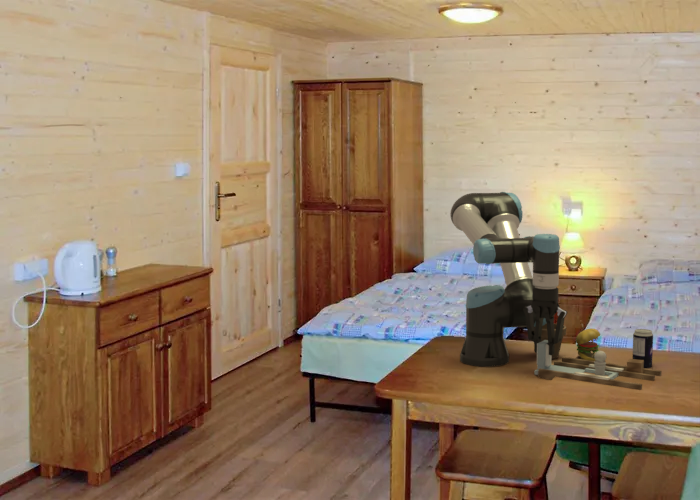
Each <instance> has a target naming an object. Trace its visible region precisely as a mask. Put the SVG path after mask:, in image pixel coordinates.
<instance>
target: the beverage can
mask: <svg viewBox="0 0 700 500" xmlns="http://www.w3.org/2000/svg"><path fill="white" fill-rule="evenodd" d="M632 336H633V337H632V358H631V359H637V360H644V368H646V369H652V368H653V352H654V349H653V348H654V347H653V346H654V345H653V344H654V334H653V331H652V330H651V329H646V328H636V329H634V332H633V335H632Z"/></svg>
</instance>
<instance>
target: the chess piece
mask: <svg viewBox="0 0 700 500" xmlns="http://www.w3.org/2000/svg"><path fill="white" fill-rule="evenodd" d="M594 357H595V360H596V361H594V363H595V364H594V366H595V374H594V375H600V376H606V375H605V367H606V365H605V364H606V363H607V362H606V360H607V354H606V352H605V351H603V350H599V351H597V352H595V355H594Z"/></svg>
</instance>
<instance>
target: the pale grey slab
mask: <svg viewBox="0 0 700 500" xmlns="http://www.w3.org/2000/svg"><path fill="white" fill-rule="evenodd" d="M547 343H548V340H544V341H542V342H540V343H538V358H537V357H536V365H537V367H536V368H537V369H535V370H534V375H535V376H538V369H540V368H541V369H547V370H554V371H560V372H567V373H573V374H574V373H575V372H580V373H587V374H593V375H595V369H590V368H586V369H585V370H583V369H576V368H570V367H563V366H556V365H554V364H551V365H550V366H548V367H547V366H545V356H546V344H547ZM618 374H619V373H617V372H610V371H605V376H606V377H610V379H612V380H615V379H616V378H618V377H619V376H618Z"/></svg>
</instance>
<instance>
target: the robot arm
mask: <svg viewBox="0 0 700 500" xmlns="http://www.w3.org/2000/svg"><path fill="white" fill-rule="evenodd" d="M450 219H451V222H452V224H453V225H454V226H455V228H456V229H457V230H460V231H462V232H463V234H465V236H466V237H467V239H468V240H469V242H471V244H472V245H473V246H472V248H473V249H472V250H473V252H472V253H473V257H474V261H475V262H476V263H478V264H480V265H481V264H482V265H483V264H485V265H492V264H495V265H496V264H500V268H501V271H502V275H503V278H504V280H505V284H506V285H505V287H504V286H501V285H484V286H478V287H475V288H472V289H470V290H469V291H468V292H467V293H466V300H465V310H466V311H465V338H464V342H463V345H462V348H461V351H460V352H459V353H460V355H459V356H460V357H459V360H460V362H461V363H463V364H465V365H469V366H474V367H484V368H485V367H486V368H487V367H491V368H492V367H500V366H504V365H507V364H509V362H510V354H509V351H508V347H507V344H506V341H505V337H504V330H505V328H526V331H527V338H528V340H529V341H532V342H533V344H534V345H533V347H534V348H533V352H534V354H536V353H537V354H536V359H537V358H538V343H540V341H541V340H542V339H541V334H542V326H543V325H545V324H546V323H547V334H548V343H547V344H546V356H545V366H547V367H548V366H550V365H552V360H553V359H552V355H554V349H555V344H556V343H559V342H561V338H562V331H563V325H564V324H565V318H566V317H567V315H568V311H567V310H564V309H562V308H561V307H560V305H559V288H558V286H559V285H560V280H559V278H560V275H559V274H560V272H559V271H560V250H561V249H560V248H561V245H560V237H559V236H558V235H557V234H552V233H537V234H534V236H532V235H531V236H530V235H529V236H524V237H520V234H519V231H518V229H519V227H520V224H521V223H522V220H523V206H522V203H521V201H520V198H519V197H518V196H517V194H516V193H513V192H505V191H501V192H471V193H467V194H464V195H462V196H460V197H459V198H458V199H456V200H455V202H454V203H453V205H452V206H451V209H450ZM529 263H532V271H531V269H530V265H529ZM556 313H557V316H558V317H557V318H556V320H557V321H556V324H557V325H556V331H554V324H555V323H554V322H555V315H556ZM564 326H565V325H564ZM534 327H535V330H534Z"/></svg>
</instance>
